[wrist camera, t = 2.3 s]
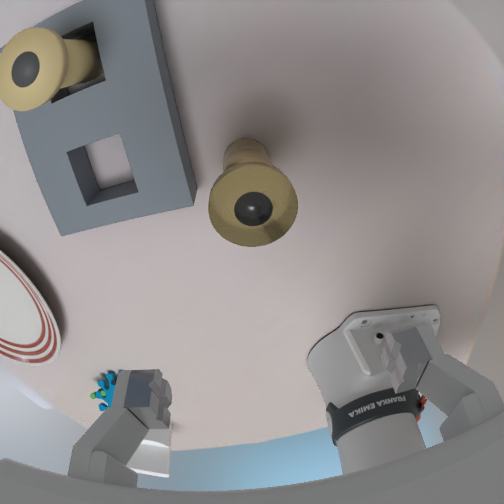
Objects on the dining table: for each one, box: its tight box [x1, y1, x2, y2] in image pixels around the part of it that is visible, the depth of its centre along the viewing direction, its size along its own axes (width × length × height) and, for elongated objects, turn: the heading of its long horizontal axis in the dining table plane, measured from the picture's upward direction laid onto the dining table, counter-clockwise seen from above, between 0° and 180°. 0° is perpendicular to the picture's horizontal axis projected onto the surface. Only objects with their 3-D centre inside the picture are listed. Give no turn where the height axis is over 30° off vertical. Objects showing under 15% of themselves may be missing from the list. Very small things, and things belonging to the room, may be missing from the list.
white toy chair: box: [126, 422, 172, 477], centre depth 52 cm, size 9×9×12 cm
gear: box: [90, 373, 119, 411], centre depth 46 cm, size 11×6×10 cm
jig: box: [0, 0, 197, 236], centre depth 20 cm, size 20×14×10 cm
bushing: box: [208, 139, 298, 247], centre depth 24 cm, size 6×6×10 cm
